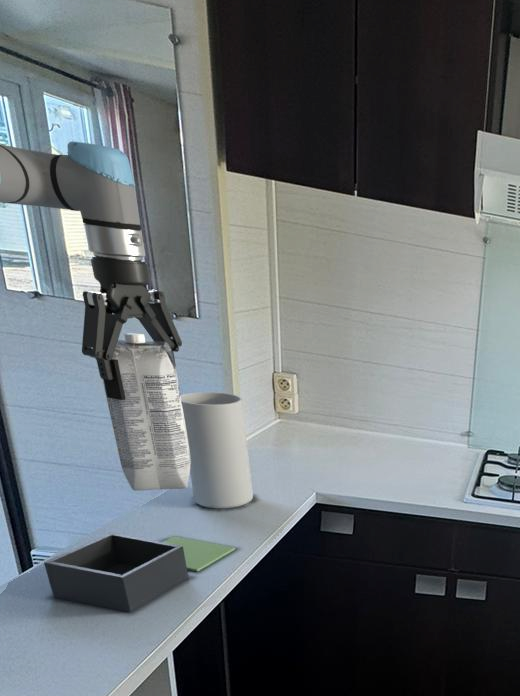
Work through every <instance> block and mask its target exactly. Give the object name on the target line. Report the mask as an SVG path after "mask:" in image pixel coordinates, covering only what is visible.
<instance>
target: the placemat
mask: <svg viewBox="0 0 520 696" xmlns="http://www.w3.org/2000/svg"><path fill="white" fill-rule="evenodd" d="M162 542H163V543H168V544H174V545H179V546H183V550H184V555H185V561H186V566H187V571H191V572H192V571H193V572H199V571H201V570H203V569H204V568H206V567H208V566H209V565H211V564H213V563H215V562H216V561H218V560H219V559H221V558H223V557H225V556H227V555H229V554H230V553H232V552H233V551H235V550H236V547H234V546H228V545H223V544H218V543H213V542H208V541H203V540H202V541H201V540H196V539H191V538H185V537H182V536H181V537H180V536H175V535H173V536H171V537H169V538H167V539H166V540H163V541H162Z"/></svg>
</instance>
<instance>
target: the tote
mask: <svg viewBox="0 0 520 696" xmlns="http://www.w3.org/2000/svg"><path fill="white" fill-rule="evenodd" d="M43 565H44V569H45V571H46V575H47V578H48V582H49V586H50V590H51V592H52V597H53V598H56V599H62V600H66V601H71V602H75V603H80V604H81V603H82V604H87V605H90V606H91V605H92V606H97V607H100V608H101V607H102V608H107V609H112V610H118V611H122V612H127V613H132V612H133V611H135V610H137V609H139V608H140V607H142V606H144V605H146V604H147V603H149V602H151V601H152V600H154V599H155V598H157V597H159V596H161V595H162V594H163V593H165V592H168V591H169V590H171V589H172V588H174V587H176V586H177V585H180V584H181V583H183V582H185V581H186V580H188V579H189V578H190V577H189V572H188V570H187V566H186V561H185V555H184V550H183V546H179V545H174V544H168V543H163V541H157V540H152V539H147V538H142V537H137V536H131V535H125V534H120V533H113V532H110V533H107V534H106V535H104V536H101V537H99V538H96V539H94V540H92V541H90V542H88V543H85V544H83V545H80V546H78V547H76V548H74V549H71V550H70V551H69V550H68V551H67V552H64V553H62V554H60V555H58V556H55V557H53V558H50V559H48V560H47V561H44V562H43Z"/></svg>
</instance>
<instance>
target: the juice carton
mask: <svg viewBox="0 0 520 696" xmlns="http://www.w3.org/2000/svg"><path fill="white" fill-rule="evenodd" d="M123 336H124V340H123V339H118V342H117V345H116V348H115V351H114V354H113V358H112V359H115V360H118V364H119V369H120V374H121V379H122V384H123V389H124V394H125V400H119V399H113V398H107V394H106V389H105V384H104V380H103V379H102V384H103V389H104V393H105V397H106V402H107V407H108V411H109V417H110V421H111V425H112V430H113V435H114V439H115V443H116V448H117V452H118V458H119V462H120V465H121V470H122V472H123V475H124V477H125V478H126V480H127V482H128V484H129V486H130V488H131V490H133V491H137V492H138V491H156V490H158V491H159V490H179V489H187V488H188V485H189V480H190V464H191V458H190V450H189V444H188V438H187V432H186V426H185V420H184V414H183V408H182V402H181V391H180V385H179V379H178V378H179V377H178V371H177V368H176V367H177V366H176V367H175V364H176V362H175V363H174V358H175V357H174V358H173V354H172V350H171V348H170V346H169V344H168V343H166V342H163V341H153V340H152V341H146V337H145V336H146V335H145V334H144V333H132V332H131V333H127V332H126V333H124V335H123ZM103 351H104V352H105V350H103Z"/></svg>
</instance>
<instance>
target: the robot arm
mask: <svg viewBox="0 0 520 696" xmlns="http://www.w3.org/2000/svg"><path fill="white" fill-rule="evenodd" d="M66 146H67V147H66V148H67V152H66V153H67V154H56V153H50V152H45V151H39V150H33V149H27V148H26V149H25V148H20V147H14V146H10V145H5V144H1V143H0V203H1V204H11V205H22V206H33V207H43V208H50V209H59V210H69V211H73V212H79V213H80V216H81V219H82V223H83V228H84V234H85V239H86V240H85V241H86V244H87V250H88V252H91V253H93V255H91V257H90V258H89V259H90V263H91V268H92V269H91V270H92V273H93V277H94V280H96V281H97V282H98V283H99V285H100V286H99V287H100V289H99V291H97V292H96V291H95V292H94V291H89V290H84V291H83V292H82V299H83V302H84V317H83V331H82V342H81V354H83V355H84V356H88V357H90V358H92V359H95V361H96V364H97V370H98V373H99V377H100V379H101V380H102V381H103V380H104V384H105V389H106V393H105V395H106V394H107V398H113V399H119V400H125V394H124V389H123V384H122V379H121V374H120V369H119V364H118V360H115V359H112V358H113V354H114V351H115V348H116V345H117V342H118V340H119V339H120V335H121V332H122V329H123V326H124V324H126V323H127V321H128V319H133V318H135V319H137V320H138V321H139V323H140V324H141V325H142V327H143V328H144V329H145V331H146V332H147V334H148V335H149V336H150V338H151V339H152V341H163V342H166V343H168V344H169V346H170V348H171V350H172V354H173V358H174V363H175V367H177V366H176V365H177V364H176V359H175V358H176V357H175V353H178V352H179V351H180V347H182V345H183V342H182V339H181V337H180V334H179V332H178V330H177V328H176V325H175V323H174V320H173V318H172V316H171V313H170V311H169V309H168V306H167V303H166V296H165V293H164V292H163V291H161V290H155V289H148V287H147V286H148V285H150V284H151V277H150V270H149V265H148V262H146V260H143V259H142V258H145V257H146V256H147V255H146V250H145V243H144V238H143V237H144V236H143V233H142V226H141V221H140V213H139V208H138V201H137V194H136V188H135V187H136V183H135V181H134V178H133V173H132V170H131V169H132V168H131V165H130V160H129V158H128V156H127V155H126V153H125V152H123V151H122V150H121V149H119V148H115V147H111V146H107V145H101V144H95V143H88V142H82V141H74V140H73V141H69V142H68V143H67V145H66ZM103 350H105V352H104V351H103ZM104 384H103V385H104ZM105 389H104V390H105ZM107 398H106V399H107Z"/></svg>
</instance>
